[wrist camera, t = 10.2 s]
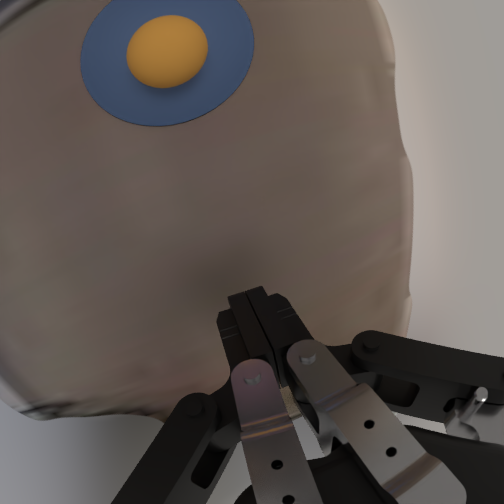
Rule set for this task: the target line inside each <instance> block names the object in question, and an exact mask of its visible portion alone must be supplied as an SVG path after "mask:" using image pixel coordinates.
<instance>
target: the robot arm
mask: <svg viewBox="0 0 504 504" xmlns="http://www.w3.org/2000/svg"><path fill="white" fill-rule="evenodd" d="M227 298H228V301H229V305H230V308H231V309H228V310H224V311H221V312H219V314H218V318H217V321H216V322H217V326H218V329H219V332H220V336H221V339H222V343H223V346H224V349H225V353H226V356H227V359H228V362H229V366H230V376H229V379H228V381H227V382H226V384H225V385H224V386H223V387H221V388H220V389H219V390H217V391H215V392H214V393H212V394H211V395H207V394H205V393H192V394H189V395H187V396H185V397H183V398H182V399H181V400H180V401H179V402H178V404H177V405H176V407H175V408H174V410H173V411H172V413H171V414H170V416H169V417H168V419H167V420H166V422H165V424H164V425H163V427H162V428H161V430H160V431H159V433H158V434H157V436H156V437H155V439H154V441H153V442H152V443H151V445H150V446H149V448H148V449H147V451H146V452H145V454H144V455H143V457H142V458H141V460H140V461H139V463H138V464H137V466H136V467H135V469H134V470H133V472H132V473H131V475H130V476H129V478H128V479H127V481H126V482H125V484H124V485H123V487H122V488H121V490H120V491H119V492H118V494H117V496H116V497H115V498H114V500H113V501H112V503H111V504H206V502H207V501H208V499H209V497H210V495H211V494H212V492H213V490H214V488H215V486H216V484H217V483H218V481H219V479H220V477H221V475H222V473H223V471H224V469H225V467H226V465H227V463H228V462H229V459H230V458H231V456H232V454H233V451H234V449H235V448H236V445H237V443H238V442H240V441H242V445H243V450H244V454H245V458H246V462H247V466H248V471H249V474H250V479H251V482H252V485H250V486H249V487H248V488H247V489H245V491H243V492H242V493H241V495H240V496H239V497H238V498H237V500H236V501H235V503H234V504H504V358H503V357H497V356H491V355H486V354H480V353H475V352H470V351H465V350H460V349H454V348H450V347H445V346H440V345H436V344H431V343H426V342H421V341H417V340H413V339H408V338H404V337H400V336H396V335H391V334H387V333H383V332H379V331H374V330H369V331H364V332H361V333H359V334H358V335H356V336H355V337H354V339H353V341H352V344H347V345H340V346H326V345H324V344H322V343H321V342H319V341H316V340H314V338H313V337H312V336H311V334H310V333H309V331H308V330H307V328H306V327H305V325H304V324H303V322H302V321H301V319H300V318H299V316H298V315H297V314H296V312H295V310H294V309H293V308H292V306H291V304H290V303H289V301H288V300H287V298H285V297H283V296H281V295H280V294H278V293H276V294H273V295H270V296H268V295H267V294H266V292H265V290H264V288H263V287H262V286H259V287H256V288H253V289H250V290H247V291H245V293H244V292H241V293H238V294H235V295H231V296H228V297H227ZM279 382H280V384H281V386H282V388H283V387H286V386H289V388H290V390H291V392H292V395H293V400H294V402H295V404H296V406H297V407H298V409H299V411H300V412H301V414H302V415H303V417H304V419H305V420H306V422H307V423H308V425H309V427H310V428H311V430H312V431H313V433H314V435H315V436H316V438H317V440H318V443H319V445H320V448H321V450H322V451H323V453H324V455H325V457H323V458H318V459H312V460H306V457H305V454H304V452H303V449H302V446H301V444H300V441H299V438H298V436H297V433H296V430H295V427H294V425H293V422H292V420H291V418H290V417H289V415H288V412H287V409H286V406H285V404H284V401H283V398H282V395H281V392H280V389H281V388H280V384H279ZM392 411H393V412H397V413H401V414H405V415H409V416H413V417H418V418H422V419H426V420H431V421H435V422H440V423H444V425H445V428H446V432H447V434H443V433H439V432H435V431H431V430H427V429H423V428H419V427H416V426H411V425H403V424H402V423H401V422H400V421H399V420H398V418H397V417H396V416H395V415H394V414H393V413H392Z"/></svg>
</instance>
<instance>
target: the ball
mask: <svg viewBox="0 0 504 504" xmlns="http://www.w3.org/2000/svg"><path fill="white" fill-rule="evenodd" d="M207 53H208V43H207V38H206V35H205V33H204V32H203V30H202V29H201V27H200V26H199V25H198V24H196V23H195V22H194V21H192V20H190V19H188V18H185V17H182V16H177V15H166V16H161V17H157V18H154V19H152V20H150V21H148V22H147V23H145V24H144V25H142V26H141V27H140V28H139V29H138V30H137V31H136V32H135V33H134V35H133V36H132V38H131V40H130V42H129V44H128V48H127V54H126V58H127V64H128V67H129V69H130V71H131V73H132V74H133V75H134V77H135V78H136V79H137V80H139V81H140V82H142V83H143V84H145V85H148V86H151V87H155V88H170V87H175V86H178V85H180V84H183V83H185V82H187V81H188V80H190V79H191V78H192V77H194V76H195V75H196V74H197V73H198V72H199V70H200V69H201V68H202V66H203V64H204V62H205V60H206V57H207Z"/></svg>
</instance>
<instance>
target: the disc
mask: <svg viewBox="0 0 504 504" xmlns="http://www.w3.org/2000/svg"><path fill="white" fill-rule="evenodd" d="M166 15H177V16H182V17H185V18H188V19H190V20H192V21H194V22H195V23H196V24H198V25H199V26H200V27H201V29H202V30H203V32H204V33H205V35H206V38H207V43H208V53H207V57H206V60H205V62H204V64H203V66H202V68H201V69H200V70H199V72H198V73H197V74H196V75H195V76H194V77H192V78H191V79H190V80H188V81H187V82H185V83H183V84H180V85H178V86H175V87H170V88H155V87H151V86H148V85H145V84H143V83H142V82H140V81H139V80H137V79H136V78H135V77H134V75H133V74H132V73H131V71H130V69H129V67H128V64H127V58H126V54H127V48H128V44H129V42H130V40H131V38H132V36H133V35H134V33H135V32H136V31H137V30H138V29H139V28H140V27H141V26H142V25H144V24H145V23H147V22H148V21H150V20H152V19H154V18H157V17H161V16H166ZM253 50H254V36H253V30H252V26H251V23H250V20H249V18H248V16H247V14H246V12H245V11H244V9H243V8H242V7H241V5H240V4H239V3H238V2H237V1H236V0H113V1H111V2H110V3H109V4H108V5H107V6H106V7H105V8H104V9H103V10H102V11H101V12H100V13H99V14H98V16H97V17H96V18H95V20H94V21H93V23H92V24H91V26H90V28H89V30H88V32H87V34H86V37H85V39H84V42H83V46H82V51H81V73H82V77H83V81H84V83H85V85H86V88H87V90H88V92H89V93H90V95H91V96H92V98H93V99H94V100H95V101H96V102H97V103H98V105H99V106H101V107H102V108H103V109H104V110H105V111H107V112H108V113H110V114H112V115H113V116H115V117H117V118H119V119H122V120H124V121H127V122H131V123H134V124H139V125H147V126H164V125H173V124H178V123H182V122H186V121H189V120H192V119H195V118H197V117H199V116H201V115H204V114H206V113H207V112H209V111H211V110H212V109H214V108H216V107H217V106H218V105H220V104H221V103H222V102H224V101H225V100H226V99H227V98H228V97H229V96H230V95H231V94H232V93H233V92H234V91H235V90H236V89H237V87H238V86H239V85H240V83H241V82H242V80H243V79H244V77H245V76H246V73H247V71H248V69H249V67H250V64H251V60H252V57H253Z"/></svg>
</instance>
